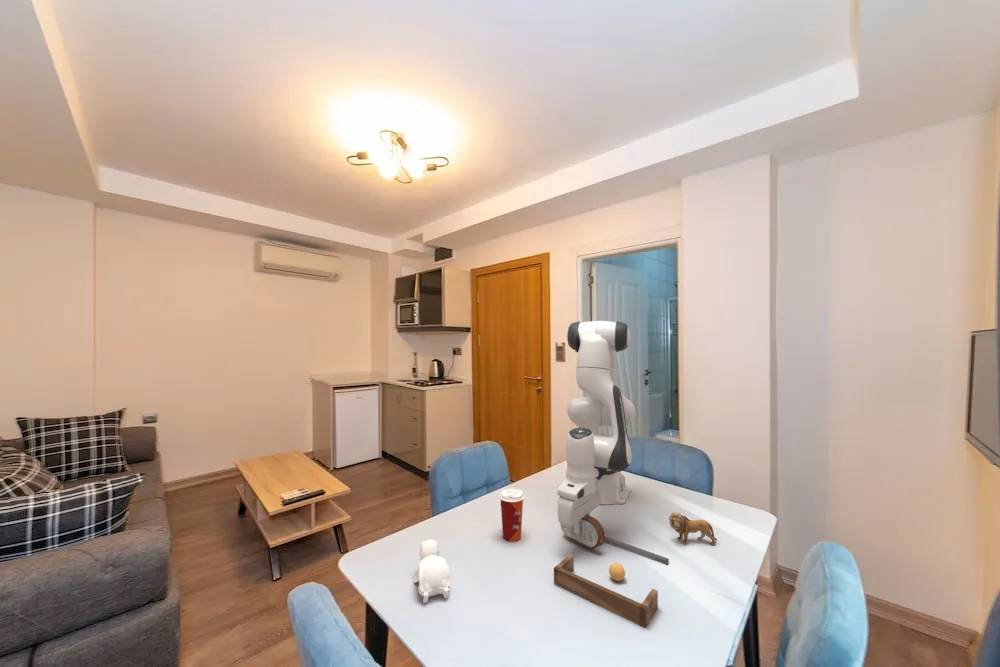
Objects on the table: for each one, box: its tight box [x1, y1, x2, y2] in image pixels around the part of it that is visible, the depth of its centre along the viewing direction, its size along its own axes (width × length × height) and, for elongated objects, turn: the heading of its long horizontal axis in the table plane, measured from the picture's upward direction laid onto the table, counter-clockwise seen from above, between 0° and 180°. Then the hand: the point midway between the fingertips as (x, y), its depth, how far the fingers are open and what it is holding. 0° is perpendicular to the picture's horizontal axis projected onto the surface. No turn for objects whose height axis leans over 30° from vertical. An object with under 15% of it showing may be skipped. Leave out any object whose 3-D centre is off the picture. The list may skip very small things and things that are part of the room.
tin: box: [560, 515, 606, 550], centre depth 116 cm, size 15×3×8 cm, turn 40°
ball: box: [608, 562, 626, 582], centre depth 100 cm, size 4×4×4 cm
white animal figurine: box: [413, 539, 451, 604], centre depth 98 cm, size 9×8×15 cm
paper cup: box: [499, 488, 525, 543], centre depth 121 cm, size 8×8×14 cm
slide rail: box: [604, 535, 670, 566], centre depth 117 cm, size 1×32×1 cm, turn 50°
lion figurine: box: [668, 512, 718, 546], centre depth 118 cm, size 15×5×9 cm, turn 93°
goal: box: [553, 554, 659, 629], centre depth 94 cm, size 8×23×4 cm, turn 50°
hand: (581, 529), depth 117 cm, fingers closed on tin, 3 cm apart
